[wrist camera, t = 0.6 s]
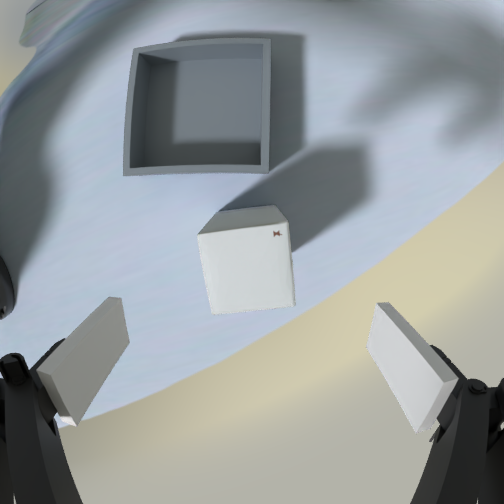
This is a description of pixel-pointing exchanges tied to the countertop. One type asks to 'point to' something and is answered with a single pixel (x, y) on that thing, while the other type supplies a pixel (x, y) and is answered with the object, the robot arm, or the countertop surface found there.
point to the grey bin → (199, 107)
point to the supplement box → (247, 260)
